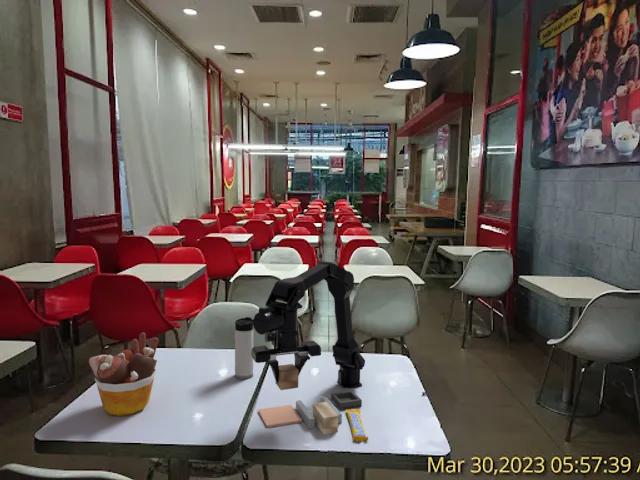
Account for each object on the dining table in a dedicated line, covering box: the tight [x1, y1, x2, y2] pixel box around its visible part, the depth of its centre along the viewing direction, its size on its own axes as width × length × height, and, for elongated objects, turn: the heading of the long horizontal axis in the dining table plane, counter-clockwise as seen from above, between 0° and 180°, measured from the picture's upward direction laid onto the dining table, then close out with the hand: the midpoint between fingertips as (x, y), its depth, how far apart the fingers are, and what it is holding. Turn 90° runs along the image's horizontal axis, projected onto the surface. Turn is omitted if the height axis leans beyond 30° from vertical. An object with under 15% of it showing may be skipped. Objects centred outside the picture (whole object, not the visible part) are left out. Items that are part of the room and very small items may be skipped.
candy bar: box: [345, 408, 369, 443], centre depth 125 cm, size 17×4×2 cm, turn 3°
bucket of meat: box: [88, 332, 160, 417], centre depth 133 cm, size 20×16×20 cm
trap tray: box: [330, 390, 363, 411], centre depth 139 cm, size 7×7×2 cm
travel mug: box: [234, 316, 254, 380], centre depth 158 cm, size 6×7×20 cm
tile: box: [257, 404, 303, 428], centre depth 130 cm, size 10×10×1 cm
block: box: [275, 363, 299, 391], centre depth 127 cm, size 5×5×5 cm
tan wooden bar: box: [312, 401, 339, 435], centre depth 125 cm, size 4×9×4 cm, turn 20°
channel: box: [295, 396, 343, 429], centre depth 130 cm, size 10×12×2 cm
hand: (286, 381), depth 127 cm, fingers closed on block, 5 cm apart
